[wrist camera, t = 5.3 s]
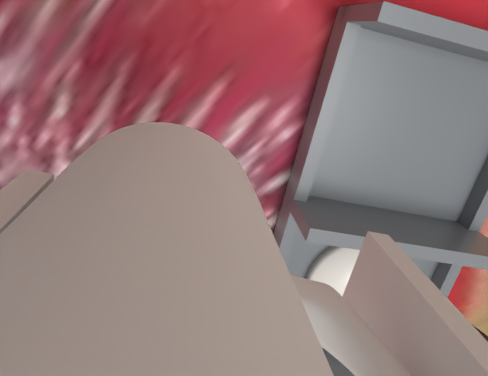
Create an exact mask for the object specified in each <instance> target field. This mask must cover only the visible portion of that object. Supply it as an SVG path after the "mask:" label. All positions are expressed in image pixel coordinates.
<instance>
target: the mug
mask: <svg viewBox="0 0 488 376" xmlns="http://www.w3.org/2000/svg"><path fill="white" fill-rule="evenodd" d="M322 348H324V349H325V350H326V351H328V352H329V353H330V354H331V355H333V356H334V357H335V358H336V359H338V360H339V361H340V362H341V363H342V364H343V365H344V366H345V367H346V368H348V369H349V370H350V371H351V372H352V373H353V374H354V375H355V376H411V375H410V374H409V372H408V371H407V370H406V369H405V367H404V366H403V365H402V364H401V362H400V361H399V360H398V359H397V358H396V356H395V355H394V354H393V353H392V352H391V350H390V349H389V348H388V347H387V346H386V345H385V344H384V342H383V341H382V340H381V339H380V338H379V337H378V336H377V335H376V334H375V332H374V331H373V330H372V329H371V328H370V327H369V326H368V325H367V324H366V322H365V321H364V320H363V319H362V318H361V317H360V316H359V315H358V314H357V313H356V311H355V310H354V309H353V308H352V307H351V306H350V305H349V304H348V303H347V301H346V300H345V299H344V298H343V297H342V296H341V295H340V294H339V293H338V292H337V291H336V290H335V289H334V288H333V287H331V286H330V285H327V284H325V283H322V282H317V281H313V280H309V279H305V278H302V277H299V276H296V275H293V274H290V273H289V271H288V268H287V266H286V264H285V261H284V259H283V257H282V254H281V252H280V249H279V247H278V245H277V242H276V240H275V238H274V235H273V233H272V230H271V228H270V226H269V223H268V221H267V218H266V216H265V214H264V211H263V209H262V206H261V204H260V202H259V200H258V198H257V195H256V193H255V191H254V189H253V187H252V185H251V183H250V181H249V179H248V177H247V175H246V173H245V171H244V170H243V168H242V166H241V165H240V163H239V162H238V161H237V159H236V158H235V157H234V156H233V155H232V154H231V153H230V152H229V151H228V150H227V149H226V148H225V147H224V146H223V145H222V144H220V143H219V142H218V141H216V140H215V139H213V138H212V137H210V136H208V135H206V134H204V133H202V132H200V131H198V130H196V129H193V128H190V127H187V126H183V125H179V124H173V123H165V122H149V123H140V124H135V125H130V126H127V127H124V128H121V129H118V130H116V131H113V132H111V133H109V134H107V135H106V136H104V137H102V138H101V139H99V140H98V141H96V142H95V143H94V144H92V145H91V146H90V147H89V148H88V149H87V150H86V151H84V152H83V153H82V154H81V155H80V156H79V157H78V158H76V159H75V160H74V161H73V162H72V163H71V164H70V165H69V166H68V167H67V168H66V169H65V170H64V171H63V172H62V173H61V174H60V175H59V176H58V177H57V178H56V179H55V180H54V181H53V182H52V183H51V184H50V185H49V186H48V187H47V188H46V189H45V190H44V191H43V192H42V193H41V194H40V195H39V196H38V197H37V198H36V199H35V200H34V201H33V202H32V203H31V204H30V205H29V206H28V207H27V208H26V209H25V210H24V211H23V212H22V213H21V214H20V215H19V216H18V217H17V218H16V219H15V220H14V221H13V222H12V223H11V224H10V225H9V226H8V227H7V228H6V229H5V230H4V231H3V232H2V233H1V234H0V376H334V375H333V373H332V370H331V368H330V366H329V363H328V361H327V359H326V356H325V354H324V352H323V349H322Z"/></svg>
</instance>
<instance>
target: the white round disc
mask: <svg viewBox="0 0 488 376" xmlns="http://www.w3.org/2000/svg"><path fill="white" fill-rule="evenodd" d="M359 252H360V250H356V249H350V248H343V247H337V246H330V247H329V248H327V249H326V250H325V251H323V252H322V253H321V254H320V255H319V256H318V257H317V258H316V259H315V260H314V262H313V263H312V264H311V266H310V268H309V270H308V272H307V274H306V277H305V279H309V280H313V281H317V282H322V283H325V284H327V285H330V286H331V287H333V288H334V289H335V290H336V291H337V292H338V293H339V294H340V295H341V296H343V293H344V291H345V288H346V286H347V283H348V281H349V278H350V275H351V273H352V270H353V268H354V265H355V263H356V260H357V257H358V255H359Z"/></svg>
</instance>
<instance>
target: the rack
mask: <svg viewBox="0 0 488 376" xmlns="http://www.w3.org/2000/svg"><path fill="white" fill-rule="evenodd" d="M487 215H488V31H486V30H483V29H479V28H476V27H472V26H469V25H465V24H462V23H458V22H455V21H452V20H448V19H445V18H441V17H438V16H434V15H431V14H427V13H424V12H420V11H417V10H413V9H410V8H406V7H403V6H399V5H396V4H392V3H389V2H385V1H380V2H372V3H364V4H355V5H347V6H339V8H338V11H337V15H336V18H335V22H334V25H333V29H332V32H331V36H330V39H329V42H328V46H327V49H326V53H325V56H324V60H323V63H322V67H321V70H320V74H319V77H318V81H317V84H316V87H315V91H314V94H313V98H312V101H311V105H310V108H309V112H308V115H307V119H306V122H305V126H304V129H303V133H302V136H301V139H300V143H299V146H298V150H297V153H296V157H295V160H294V164H293V167H292V171H291V174H290V178H289V181H288V184H287V188H286V191H285V195H284V198H283V202H282V205H281V209H280V212H279V216H278V219H277V223H276V226H275V230H274V233H273V235H274V238H275V240H276V242H277V245H278V247H279V249H280V252H281V254H282V257H283V259H284V261H285V264H286V266H287V268H288V271H289V273H290V274H293V275H296V276H299V277H302V278H305V277H306V274H307V272H308V270H309V268H310V266H311V264H312V263H313V262H314V260H315V259H316V258H317V257H318V256H319V255H320V254H321V253H322V252H323V251H325V250H326V249H327V248H329V247H330V246H337V247H343V248H350V249H356V250H361V247H362V245H363V242H364V239H365V237H366V234H367V232H368V231H370V232H376V233H381V234H387V235H389V236H390V237H391V238H392V239H393V240H394V242H395V243H396V244H397V245H398V246H399V247H400V248H401V249H402V250H403V251H404V252H405V253H406V254H407V256H408V257H409V258H410V259H411V260H412V261H413V262H414V263H415V264H416V265H417V266H418V267H419V268H420V269H421V271H422V272H423V273H424V274H425V275H426V276H427V277H428V278H429V279H430V280H431V281H432V282H433V283H434V285H435V286H436V287H437V288H438V289H439V290H440V291H441V292H442V293H443V294H444V295H445V296H446V297H448V295H449V293H450V291H451V289H452V287H453V284H454V282H455V280H456V278H457V276H458V274H459V272H460V270H461V268H462V266H467V267H474V268H480V269H487V270H488V238H487V237H485V236H484V235H483V234H481V233H480V232H479V231H480V229H481V227H482V225H483V223H484V221H485V219H486V217H487ZM322 349H323V352H324V354H325V356H326V359H327V361H328V363H329V366H330V368H331V370H332V373H333V375H334V376H355V375H354V374H353V373H352V372H351V371H350V370H349V369H348V368H346V367H345V366H344V365H343V364H342V363H341V362H340V361H339V360H338V359H336V358H335V357H334V356H333V355H331V354H330V353H329V352H328V351H326V350H325V349H324V348H322Z"/></svg>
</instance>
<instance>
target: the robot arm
mask: <svg viewBox="0 0 488 376" xmlns="http://www.w3.org/2000/svg"><path fill="white" fill-rule="evenodd" d="M53 179H54V174H50V173H44V172H39V171H33V170H28V169H25V170H24V171H23V172H22V173H20V174H19V175H18V176H17V177H16V178H14V179H13V180H12V181H11V182H10V183H8V184H7V185H6V186H5V187H4V188H2V189H1V190H0V234H1V233H2V232H3V231H4V230H5V229H6V228H7V227H8V226H9V225H10V224H11V223H12V222H13V221H14V220H15V219H16V218H17V217H18V216H19V215H20V214H21V213H22V212H23V211H24V210H25V209H26V208H27V207H28V206H29V205H30V204H31V203H32V202H33V201H34V200H35V199H36V198H37V197H38V196H39V195H40V194H41V193H42V192H43V191H44V190H45V189H46V188H47V187H48V186H49V185H50V184H51V183H52V182H53ZM342 297H343V298H344V299H345V300H346V301H347V303H348V304H349V305H350V306H351V307H352V308H353V309H354V310H355V311H356V313H357V314H358V315H359V316H360V317H361V318H362V319H363V320H364V321H365V322H366V324H367V325H368V326H369V327H370V328H371V329H372V330H373V331H374V332H375V334H376V335H377V336H378V337H379V338H380V339H381V340H382V341H383V342H384V344H385V345H386V346H387V347H388V348H389V349H390V350H391V352H392V353H393V354H394V355H395V356H396V358H397V359H398V360H399V361H400V362H401V364H402V365H403V366H404V367H405V369H406V370H407V371H408V372H409V374H410V375H411V376H488V336H487V335H485V334H484V333H483V332H481V331H480V330H479V329H477V328H476V327H475V326H473V325H472V324H471V323H470V322H469V321H468V320H467V319H466V318H465V317H464V316H463V315H462V314H461V313H460V311H459V310H458V309H457V308H456V307H455V306H454V305H453V304H452V303H451V302H450V301H449V300H448V299H447V297H446V296H445V295H444V294H443V293H442V292H441V291H440V290H439V289H438V288H437V287H436V286H435V285H434V283H433V282H432V281H431V280H430V279H429V278H428V277H427V276H426V275H425V274H424V273H423V272H422V271H421V269H420V268H419V267H418V266H417V265H416V264H415V263H414V262H413V261H412V260H411V259H410V258H409V257H408V256H407V254H406V253H405V252H404V251H403V250H402V249H401V248H400V247H399V246H398V245H397V244H396V243H395V242H394V240H393V239H392V238H391V237H390V236H389V235H387V234H381V233H376V232H370V231H368V232H367V234H366V237H365V239H364V242H363V245H362V247H361V250H360V252H359V255H358V257H357V260H356V263H355V265H354V268H353V270H352V273H351V275H350V278H349V281H348V283H347V286H346V288H345V291H344V293H343V296H342Z"/></svg>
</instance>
